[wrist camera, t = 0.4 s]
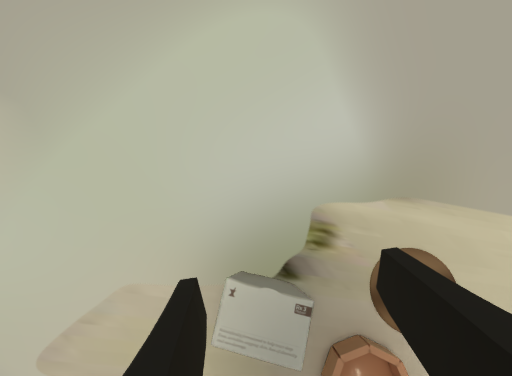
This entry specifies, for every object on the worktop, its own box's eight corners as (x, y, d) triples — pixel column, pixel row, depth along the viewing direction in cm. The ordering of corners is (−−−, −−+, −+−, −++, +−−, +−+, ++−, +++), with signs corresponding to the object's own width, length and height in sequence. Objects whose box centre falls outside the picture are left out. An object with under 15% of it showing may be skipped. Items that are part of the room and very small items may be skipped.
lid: (471, 317, 35) (502, 327, 30) (393, 349, 35) (411, 363, 30) (428, 236, 38) (449, 233, 33) (355, 265, 37) (366, 266, 33)
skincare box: (230, 312, 37) (202, 348, 22) (241, 267, 38) (221, 275, 24) (290, 329, 36) (301, 379, 21) (299, 282, 37) (316, 300, 23)
